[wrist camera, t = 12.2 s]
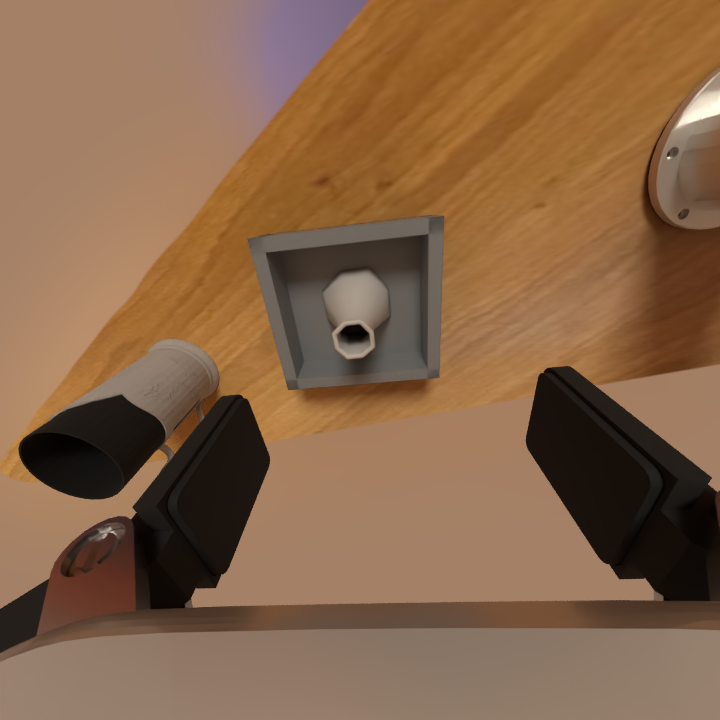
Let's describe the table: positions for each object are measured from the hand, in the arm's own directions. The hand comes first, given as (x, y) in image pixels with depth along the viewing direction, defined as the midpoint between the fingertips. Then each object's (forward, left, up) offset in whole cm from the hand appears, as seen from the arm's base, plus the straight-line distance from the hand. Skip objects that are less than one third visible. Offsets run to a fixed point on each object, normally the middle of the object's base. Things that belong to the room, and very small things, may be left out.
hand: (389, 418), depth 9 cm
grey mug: (+23, +11, -23) cm, 34 cm away
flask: (+2, +2, -22) cm, 22 cm away
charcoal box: (+2, +2, -23) cm, 23 cm away
